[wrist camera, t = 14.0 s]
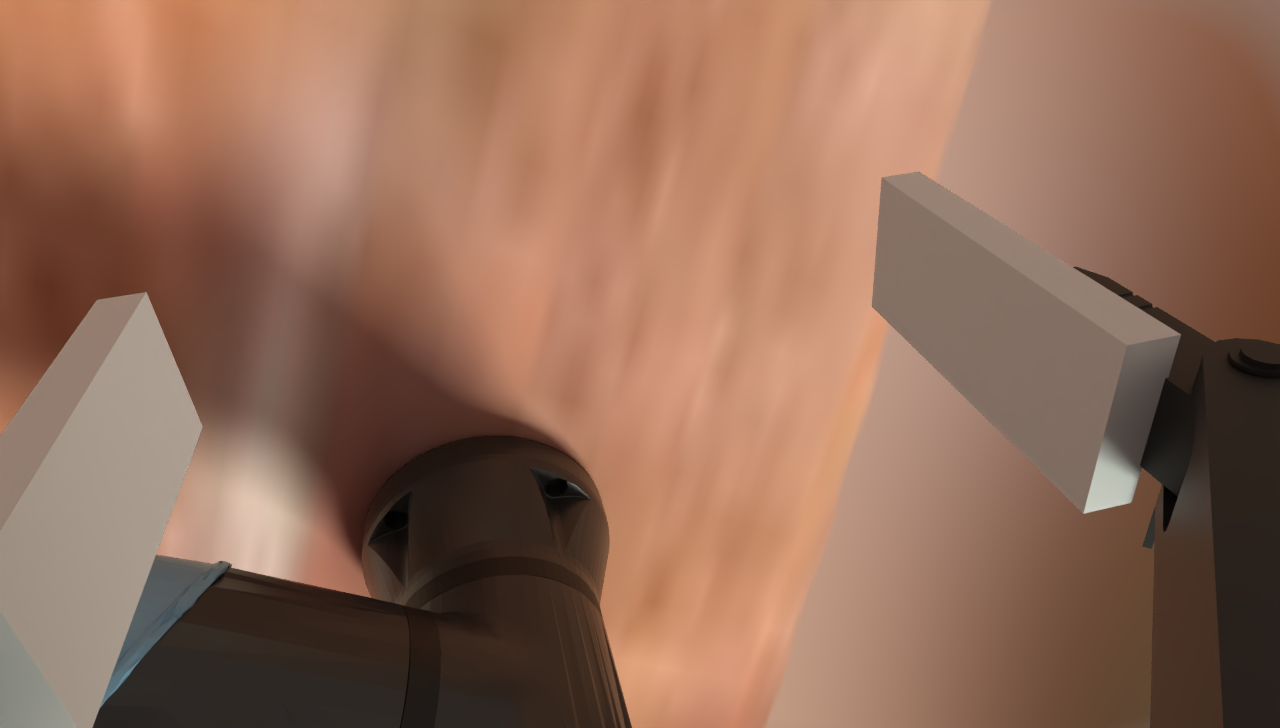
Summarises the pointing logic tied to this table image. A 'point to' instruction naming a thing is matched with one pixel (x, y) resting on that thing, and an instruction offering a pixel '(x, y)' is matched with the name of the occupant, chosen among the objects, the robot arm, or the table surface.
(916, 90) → the table surface
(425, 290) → the table surface
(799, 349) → the table surface
